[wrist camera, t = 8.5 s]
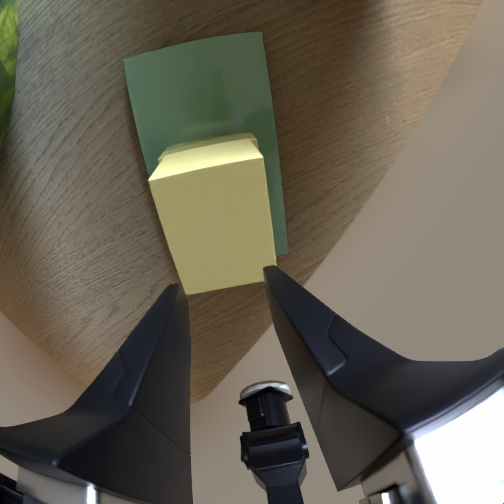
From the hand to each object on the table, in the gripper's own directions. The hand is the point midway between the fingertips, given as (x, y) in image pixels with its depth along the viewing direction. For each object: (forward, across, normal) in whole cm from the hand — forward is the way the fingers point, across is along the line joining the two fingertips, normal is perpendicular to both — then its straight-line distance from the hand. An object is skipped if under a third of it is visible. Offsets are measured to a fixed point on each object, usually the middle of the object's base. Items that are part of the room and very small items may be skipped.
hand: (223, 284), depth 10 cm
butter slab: (+8, 0, 0) cm, 8 cm away
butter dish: (+12, 0, -2) cm, 12 cm away
